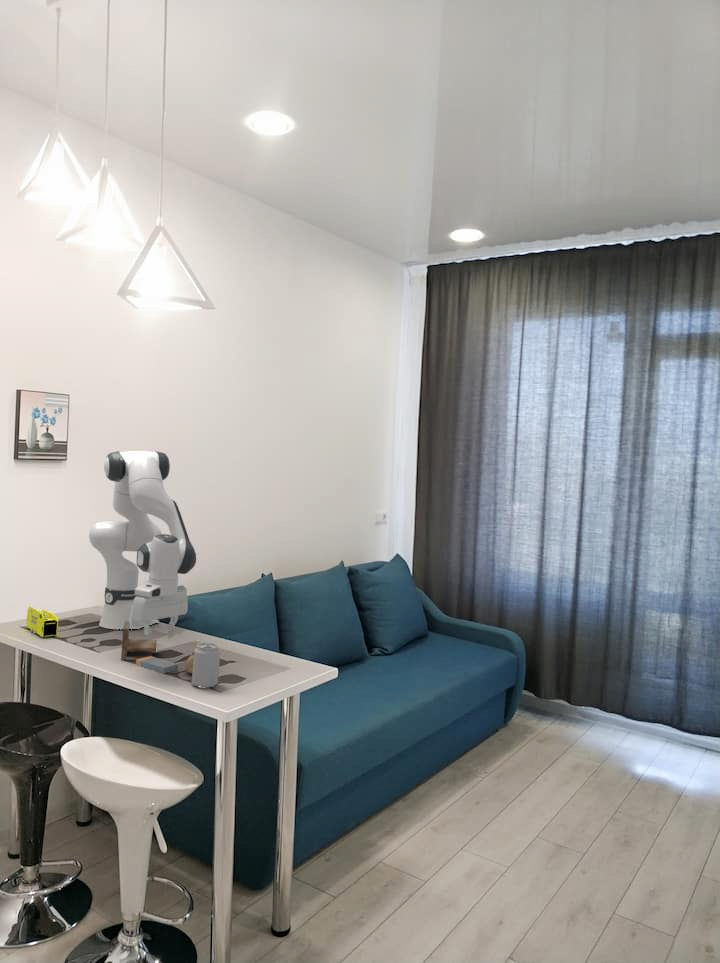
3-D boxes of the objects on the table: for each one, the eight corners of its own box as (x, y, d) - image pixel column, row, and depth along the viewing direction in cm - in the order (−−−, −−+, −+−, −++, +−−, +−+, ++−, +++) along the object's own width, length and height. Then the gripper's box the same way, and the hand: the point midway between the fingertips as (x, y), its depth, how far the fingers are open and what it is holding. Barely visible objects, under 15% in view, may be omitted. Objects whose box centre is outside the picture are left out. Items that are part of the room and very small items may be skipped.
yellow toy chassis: (24, 628, 264) (26, 605, 264) (41, 627, 268) (43, 604, 268) (40, 639, 252) (42, 614, 252) (57, 637, 256) (59, 613, 256)
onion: (210, 670, 234) (211, 647, 233) (212, 677, 226) (214, 654, 226) (183, 670, 231) (185, 647, 231) (185, 678, 224) (187, 654, 224)
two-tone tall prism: (177, 670, 231) (178, 664, 231) (163, 674, 226) (164, 667, 226) (150, 662, 237) (150, 656, 237) (135, 665, 232) (136, 659, 232)
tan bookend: (155, 651, 249) (158, 622, 248) (155, 660, 239) (157, 629, 238) (122, 651, 246) (125, 621, 246) (120, 660, 236) (123, 628, 236)
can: (191, 689, 214) (194, 647, 213) (191, 681, 221) (194, 641, 221) (217, 689, 215) (221, 648, 215) (217, 681, 223) (220, 641, 222)
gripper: (179, 583, 241) (176, 625, 241) (130, 589, 224) (126, 635, 224) (194, 586, 238) (190, 629, 238) (145, 592, 220) (141, 639, 221)
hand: (159, 632), depth 231 cm, fingers open, 8 cm apart
